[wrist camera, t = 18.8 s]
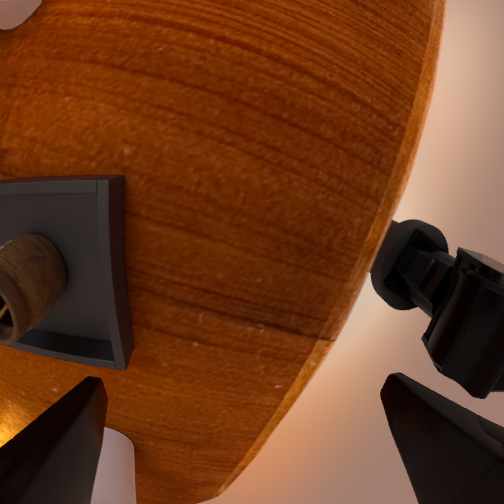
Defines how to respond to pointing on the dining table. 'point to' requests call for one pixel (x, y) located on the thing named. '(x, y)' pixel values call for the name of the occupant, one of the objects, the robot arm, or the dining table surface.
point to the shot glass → (16, 12)
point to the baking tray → (76, 264)
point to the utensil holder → (28, 284)
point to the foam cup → (115, 471)
